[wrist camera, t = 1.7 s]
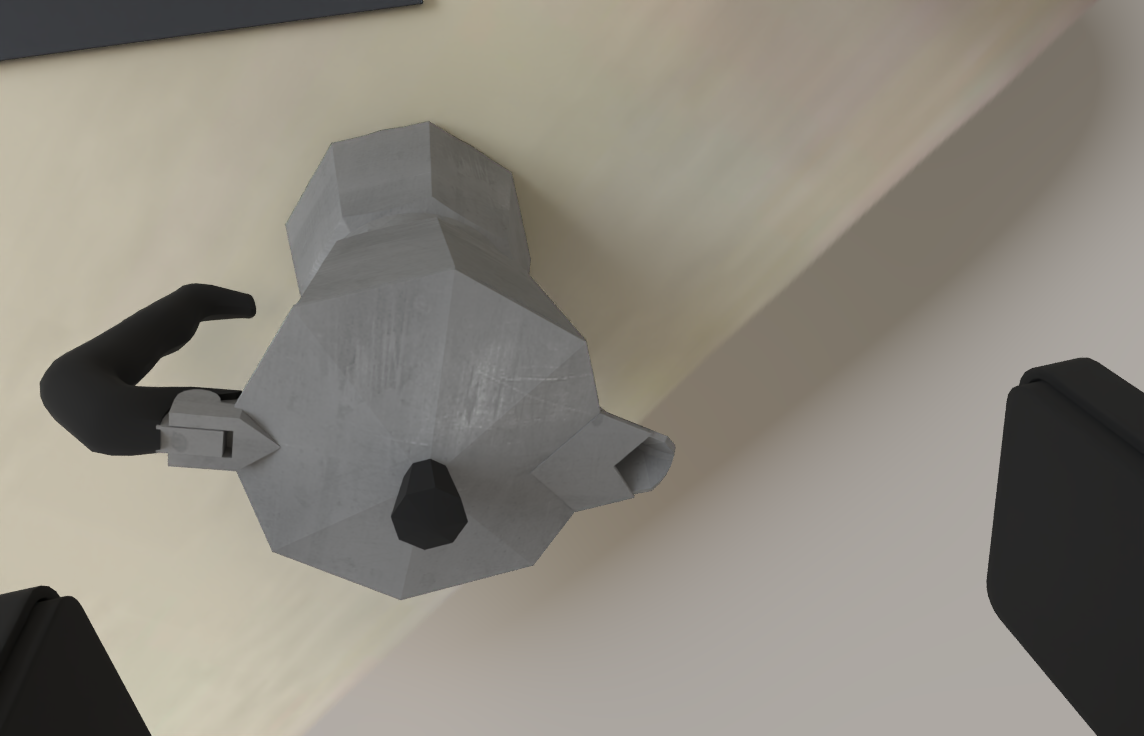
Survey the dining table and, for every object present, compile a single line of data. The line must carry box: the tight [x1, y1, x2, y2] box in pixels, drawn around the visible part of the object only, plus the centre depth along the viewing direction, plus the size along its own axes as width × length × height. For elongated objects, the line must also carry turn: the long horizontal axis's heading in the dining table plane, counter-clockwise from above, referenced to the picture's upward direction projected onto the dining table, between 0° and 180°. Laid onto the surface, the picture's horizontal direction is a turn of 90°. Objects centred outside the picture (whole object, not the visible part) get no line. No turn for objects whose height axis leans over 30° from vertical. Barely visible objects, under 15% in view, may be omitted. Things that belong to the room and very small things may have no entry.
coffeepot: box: [40, 121, 675, 600], centre depth 27 cm, size 15×9×18 cm, turn 78°
